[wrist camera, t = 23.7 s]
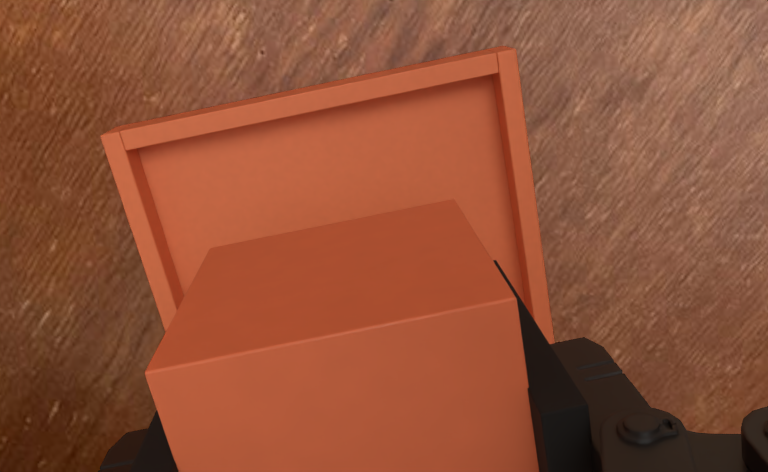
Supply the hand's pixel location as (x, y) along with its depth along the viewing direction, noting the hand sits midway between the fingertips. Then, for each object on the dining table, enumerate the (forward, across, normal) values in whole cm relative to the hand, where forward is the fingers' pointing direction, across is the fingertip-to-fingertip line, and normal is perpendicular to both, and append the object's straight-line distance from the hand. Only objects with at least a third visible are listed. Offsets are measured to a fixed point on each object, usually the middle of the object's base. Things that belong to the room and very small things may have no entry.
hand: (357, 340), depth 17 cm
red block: (0, 0, 0) cm, 0 cm away
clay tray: (+14, -1, -2) cm, 14 cm away
